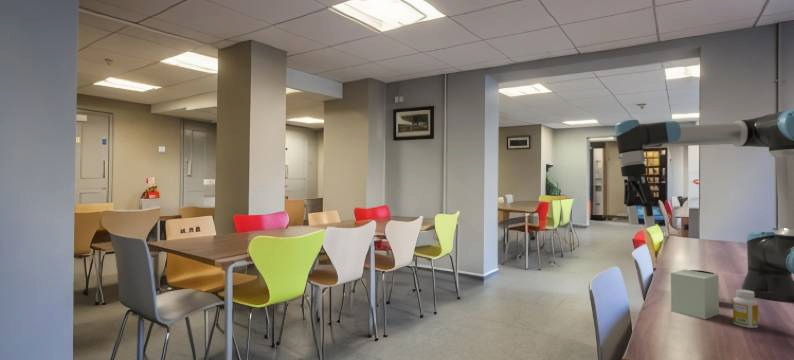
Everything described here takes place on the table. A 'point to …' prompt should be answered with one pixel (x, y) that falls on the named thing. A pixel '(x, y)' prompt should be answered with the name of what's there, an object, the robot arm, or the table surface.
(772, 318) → the table surface
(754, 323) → the supplement bottle
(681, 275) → the cover
